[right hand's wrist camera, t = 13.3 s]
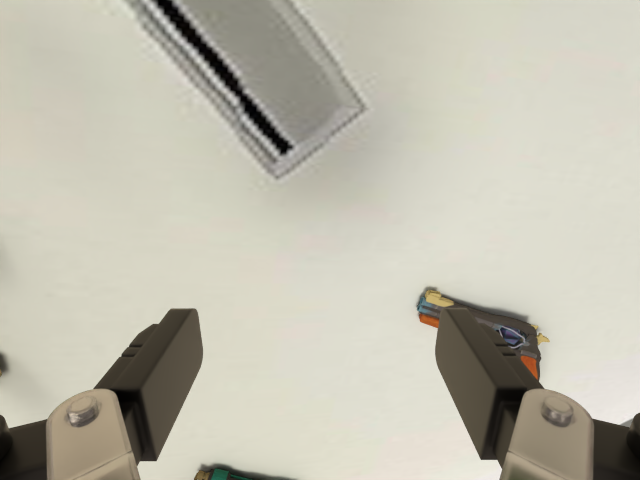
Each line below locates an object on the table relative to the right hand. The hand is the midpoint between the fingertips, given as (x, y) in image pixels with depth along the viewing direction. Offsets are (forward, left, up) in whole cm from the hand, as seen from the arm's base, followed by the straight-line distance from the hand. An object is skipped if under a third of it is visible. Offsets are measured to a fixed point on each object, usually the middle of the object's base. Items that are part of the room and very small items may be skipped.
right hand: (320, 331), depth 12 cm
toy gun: (+21, +18, -27) cm, 39 cm away
